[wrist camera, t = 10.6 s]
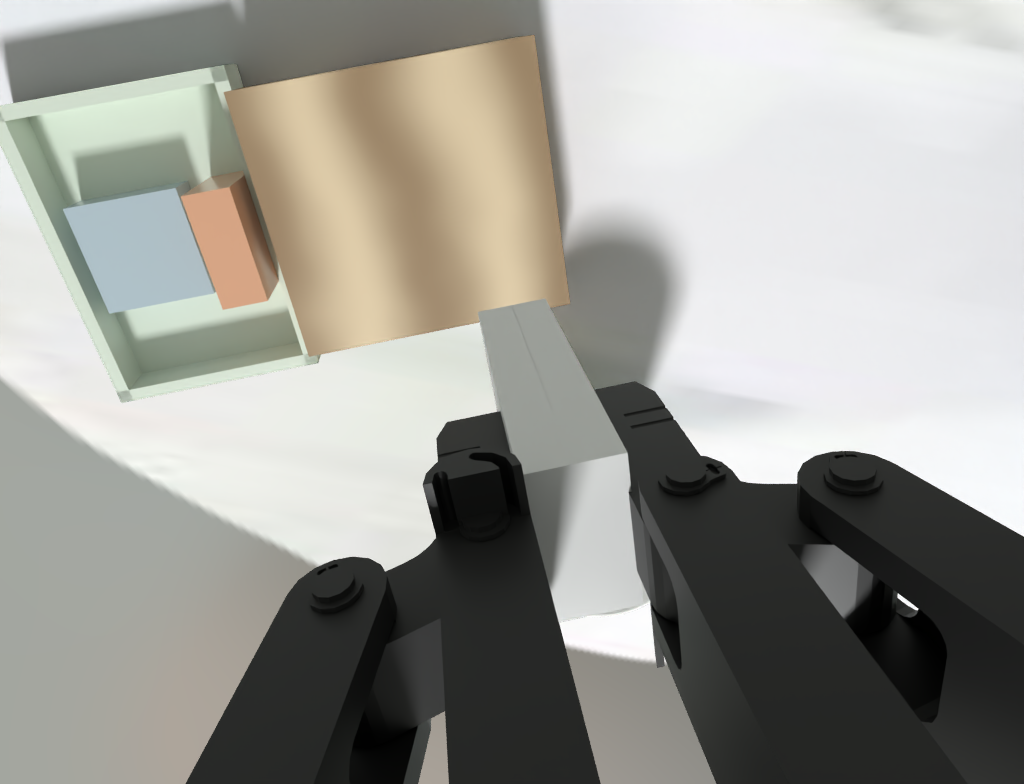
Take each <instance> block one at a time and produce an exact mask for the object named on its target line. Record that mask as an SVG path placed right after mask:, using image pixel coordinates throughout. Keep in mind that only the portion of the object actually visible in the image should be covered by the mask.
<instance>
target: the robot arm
mask: <svg viewBox="0 0 1024 784" xmlns="http://www.w3.org/2000/svg"><path fill="white" fill-rule="evenodd" d="M478 316H479V321H480V326H481V331H482V336H483V342H484V347H485V352H486V357H487V362H488V367H489V372H490V377H491V382H492V387H493V392H494V398H495V403H496V408H497V412H494V413H489V414H485V415H480V416H475V417H470V418H465V419H460V420H455V421H451V422H447V423H446V424H445V426H444V428H443V429H442V431H441V432H440V434H439V435H438V437H437V454H438V462H437V463H436V464H435V465H434V466H433V467H432V468H431V469H430V470H429V471H428V472H427V473H426V476H425V479H424V482H423V488H424V492H425V495H426V499H427V503H428V507H429V510H430V514H431V518H432V522H433V526H434V529H435V533H436V539H435V540H434V541H433V542H432V544H431V545H430V546H429V547H428V548H427V549H426V550H424V551H423V552H422V553H421V554H419V555H418V556H417V557H415V558H413V559H411V560H409V561H407V562H406V563H404V564H402V565H399V566H397V567H395V568H393V569H390V570H388V571H386V572H385V571H384V569H383V567H382V566H381V565H380V564H379V563H377V562H375V561H373V560H371V559H369V558H360V557H348V558H343V559H337V560H333V561H330V562H328V563H326V564H323V565H321V566H319V567H317V568H314V569H313V570H312V571H310V572H309V573H308V574H306V575H305V576H304V577H302V578H301V579H299V580H298V581H297V583H296V584H295V585H294V587H293V588H292V589H291V591H290V592H289V593H288V595H287V596H286V598H285V600H284V602H283V604H282V606H281V607H280V609H279V611H278V613H277V615H276V617H275V618H274V620H273V622H272V624H271V626H270V628H269V630H268V632H267V633H266V635H265V637H264V639H263V641H262V643H261V644H260V647H259V648H258V650H257V652H256V654H255V656H254V658H253V659H252V661H251V663H250V665H249V667H248V669H247V671H246V672H245V675H244V676H243V678H242V680H241V682H240V684H239V686H238V687H237V689H236V691H235V693H234V695H233V697H232V699H231V700H230V702H229V704H228V706H227V708H226V710H225V711H224V713H223V715H222V717H221V719H220V721H219V723H218V725H217V726H216V728H215V730H214V732H213V734H212V736H211V738H210V739H209V741H208V743H207V745H206V747H205V749H204V751H203V752H202V754H201V756H200V758H199V760H198V762H197V764H196V766H195V767H194V769H193V771H192V773H191V775H190V777H189V778H188V780H187V782H186V784H418V782H419V777H420V773H421V769H422V765H423V760H424V756H425V752H426V748H427V743H428V739H429V735H430V731H431V718H432V717H434V716H436V715H438V714H440V713H442V712H444V711H445V716H446V733H447V754H448V773H449V784H600V780H599V776H598V772H597V768H596V764H595V761H594V756H593V753H592V749H591V745H590V741H589V737H588V733H587V729H586V726H585V722H584V718H583V714H582V710H581V706H580V703H579V699H578V695H577V691H576V687H575V683H574V679H573V675H572V672H571V668H570V664H569V660H568V656H567V652H566V648H565V644H564V641H563V637H562V633H561V629H560V625H559V622H564V621H569V620H573V619H578V618H582V617H587V616H591V615H596V614H601V613H605V612H610V611H614V610H619V609H624V608H628V607H633V606H637V605H642V604H643V596H642V586H641V581H642V584H643V586H644V588H645V591H646V593H647V595H648V597H649V600H650V605H651V615H652V625H653V636H654V646H655V656H656V663H657V668H658V667H663V666H664V657H665V659H666V662H667V664H668V667H669V669H670V672H671V674H672V676H673V679H674V681H675V684H676V686H677V689H678V691H679V693H680V696H681V698H682V701H683V703H684V706H685V708H686V710H687V713H688V716H689V718H690V720H691V723H692V725H693V727H694V730H695V732H696V735H697V737H698V740H699V742H700V745H701V747H702V750H703V752H704V754H705V757H706V759H707V762H708V764H709V767H710V769H711V772H712V774H713V776H714V779H715V781H716V784H1024V537H1023V536H1021V535H1020V534H1018V533H1016V532H1014V531H1013V530H1011V529H1009V528H1007V527H1006V526H1004V525H1002V524H1000V523H998V522H997V521H995V520H993V519H991V518H990V517H988V516H986V515H984V514H983V513H981V512H979V511H977V510H975V509H974V508H972V507H970V506H968V505H967V504H965V503H963V502H961V501H960V500H958V499H956V498H954V497H952V496H951V495H949V494H947V493H945V492H944V491H942V490H940V489H938V488H937V487H935V486H933V485H931V484H929V483H928V482H926V481H924V480H922V479H921V478H919V477H917V476H915V475H914V474H912V473H910V472H908V471H906V470H905V469H903V468H901V467H899V466H898V465H896V464H894V463H892V462H890V461H887V460H885V459H883V458H880V457H878V456H875V455H871V454H865V453H860V452H855V451H839V452H829V453H825V454H821V455H817V456H814V457H813V458H811V459H809V460H808V461H806V462H805V463H803V464H802V466H801V468H800V470H799V472H798V476H797V484H756V483H746V482H741V481H740V480H739V479H738V478H737V476H736V475H735V474H734V472H733V471H732V470H731V469H729V468H728V467H727V466H726V465H725V464H723V463H722V462H720V461H717V460H715V459H712V458H709V457H706V456H700V454H699V453H698V452H697V450H696V449H695V447H694V446H693V445H692V443H691V442H690V440H689V439H688V437H687V436H686V435H685V433H684V432H683V430H682V429H681V428H680V426H679V425H678V423H677V422H676V420H674V419H673V416H672V415H671V413H670V412H669V411H668V409H667V408H665V405H664V404H663V402H662V401H661V399H660V398H659V396H658V395H657V394H656V392H655V391H653V390H651V389H649V388H647V387H645V386H643V385H641V384H639V383H637V382H630V383H626V384H621V385H616V386H611V387H606V388H601V389H596V390H594V389H593V387H592V385H591V383H590V381H589V379H588V378H587V376H586V374H585V372H584V370H583V368H582V366H581V364H580V362H579V361H578V359H577V357H576V355H575V353H574V351H573V349H572V347H571V346H570V344H569V342H568V340H567V338H566V336H565V334H564V332H563V331H562V329H561V327H560V325H559V323H558V321H557V319H556V317H555V316H554V314H553V312H552V310H551V308H550V306H549V304H548V302H547V300H546V299H540V300H535V301H530V302H525V303H520V304H515V305H510V306H505V307H500V308H495V309H490V310H485V311H480V312H478ZM898 593H899V594H900V595H901V596H903V597H904V598H905V599H907V600H908V601H909V602H911V603H912V604H913V605H915V606H916V607H917V608H919V609H918V611H917V610H914V609H912V608H911V607H909V606H907V605H906V604H905V603H903V602H902V601H901V600H899V599H898V598H897V595H898Z"/></svg>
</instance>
